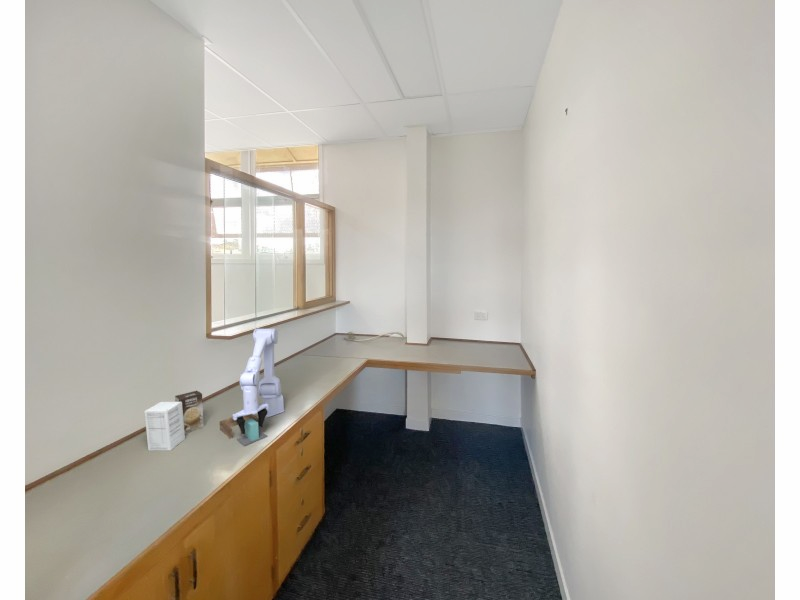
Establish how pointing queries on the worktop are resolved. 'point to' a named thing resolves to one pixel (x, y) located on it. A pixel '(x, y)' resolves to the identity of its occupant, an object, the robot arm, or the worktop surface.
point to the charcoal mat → (247, 441)
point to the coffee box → (191, 410)
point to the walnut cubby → (233, 424)
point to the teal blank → (251, 429)
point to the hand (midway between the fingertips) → (252, 429)
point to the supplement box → (164, 426)
